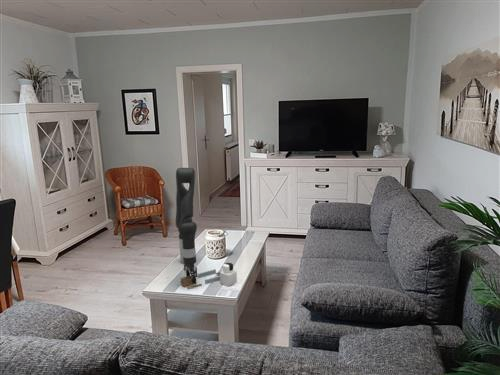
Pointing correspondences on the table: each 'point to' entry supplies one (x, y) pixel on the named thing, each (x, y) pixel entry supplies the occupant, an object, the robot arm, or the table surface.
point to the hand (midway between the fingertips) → (191, 280)
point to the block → (187, 281)
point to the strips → (194, 286)
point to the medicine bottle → (228, 275)
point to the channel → (209, 278)
